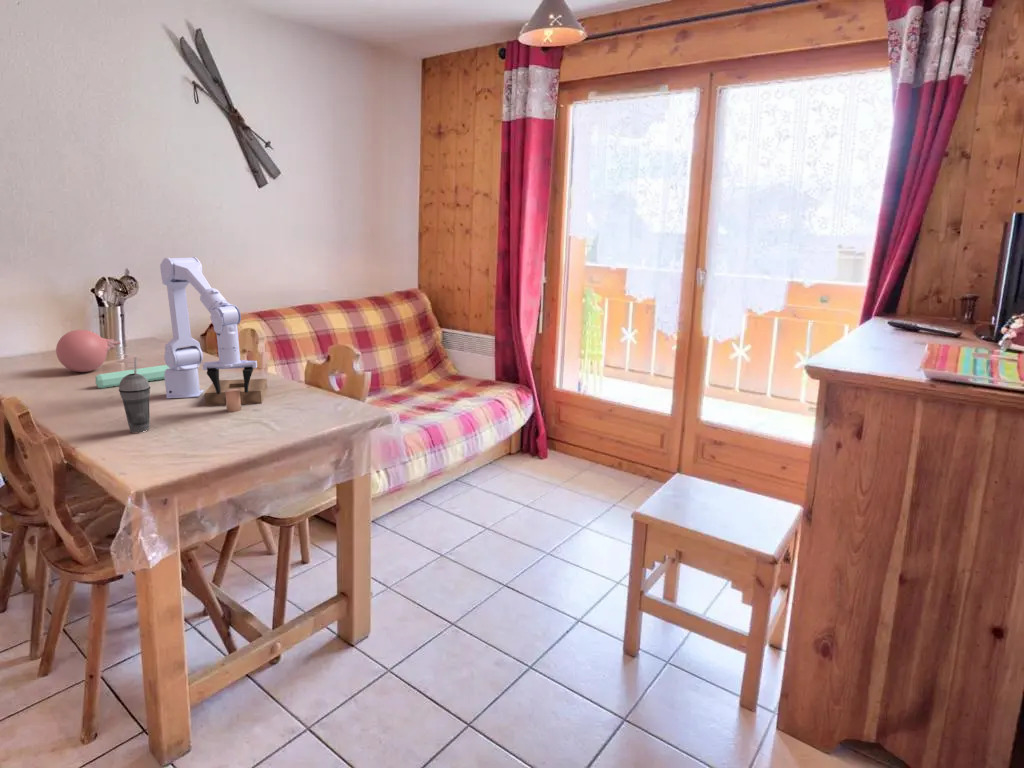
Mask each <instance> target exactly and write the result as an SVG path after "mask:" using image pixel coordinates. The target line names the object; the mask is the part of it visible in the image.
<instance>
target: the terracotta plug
mask: <svg viewBox="0 0 1024 768" xmlns="http://www.w3.org/2000/svg"><path fill="white" fill-rule="evenodd" d="M225 396H226V405H225V406H226V412H229V413H237V412H240V411H242V404H241V399H240V390H239V389H229V390H226V391H225Z"/></svg>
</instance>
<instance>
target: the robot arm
mask: <svg viewBox="0 0 1024 768" xmlns="http://www.w3.org/2000/svg"><path fill="white" fill-rule="evenodd" d="M159 268H160V274H161V281H162V284H163V285H165V286H166V291H167V299H168V300H167V301H168V307H169V314H170V321H171V331H172V338H171V339H170V340H169V341H168V342H167V343H166V344H165V345H164V354H163V355H164V363H165V365H167V366H168V367H169V368H170V369H166V370H165V379H164V385H165V392H166V396H165V398H166V399H182V398H183V399H184V398H187V399H188V398H199V397H200V396H201V395H202V394H203V392H204V391H205V390H204V389H201V388H200V378H199V369H198V368H200V367H201V364H202V371H206V375H207V376H208V377H209V379H210V380H211V382H212V383H213V384H214V386H215V389H216V392H217V394H220V392H221V388H220V382H219V380H220V370H226V369H227V370H229V369H231V370H232V369H234V370H235V369H242V376H243V379H244V391H245V393H247V392H248V386H249V381H250V379H251V377H252V374H253V372H254V370H255V369H257V368H258V360H245V359H243V360H241V353H240V342H239V332H238V329H239V328H238V326H239V324H240V323H241V321H242V320H241V319H242V315H241V311H240V309H239V308H238V306H237V305H235V304H232V303H229V302H228V301H227V299H226V298H225V297H224V296H223V294H222V293H221V292H220V290H218V289H217V288H216V287H215V288H214V287H211V285H210V283H209V282H208V280H207V279H206V277H205V275H204V274H203V265H202V263H201V261H200V260H199V258H197V257H196V256H191V257H164V258H163V259H162V261H161V263H160V266H159ZM189 284H190V285H191V286H192V287H193V288H194V289H195V290H196V291H197V292H198V293H199V294H200V296H199V300H200V302H201V303H202V304H203V306H204V307H205V309H207V311H208V312H209V314H210V317H209V318H210V322H211V324H212V325H213V331H214V333H216V341H217V343H216V345H217V353H218V360H217V361H206V362H205V361H204V362H203V360H204V353H203V351H202V348H201V345H200V342H199V341H198V340H196V339H195V338H193V337H192V332H191V331H192V330H191V323H190V317H189V316H190V315H189V309H188V308H189V307H188V299H187V291H186V288H187V286H188V285H189Z"/></svg>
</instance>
